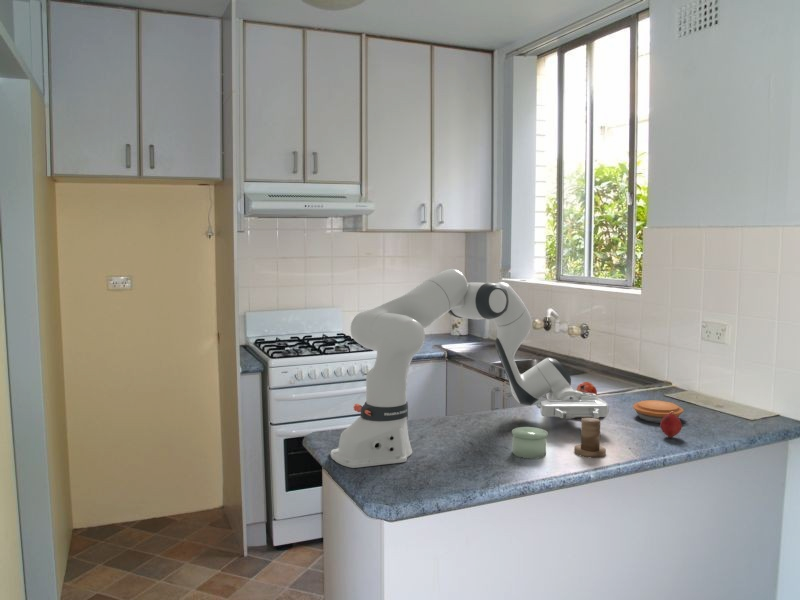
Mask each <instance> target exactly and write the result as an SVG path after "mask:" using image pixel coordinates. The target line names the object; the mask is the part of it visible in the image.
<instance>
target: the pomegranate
mask: <svg viewBox="0 0 800 600" xmlns="http://www.w3.org/2000/svg"><path fill="white" fill-rule="evenodd" d="M576 390H577V391H580V392H585V393H593V394H596V395H597V394H598V392H597V391H598V390H597V388H596V386H595V385H593V383H592V382H589V381H584V382H582V383H579V384H578V385H577V388H576ZM597 396H598V395H597Z"/></svg>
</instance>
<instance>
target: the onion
mask: <svg viewBox="0 0 800 600" xmlns="http://www.w3.org/2000/svg"><path fill="white" fill-rule="evenodd" d="M659 425H660V429H661V431H662V433H663V434H665V436H667V437H668V438H670V439H671V438H674V437H675V436H677V435H678V434H680V432H681V430H682V428H683V426H682V421H681V419H680V417H677V416H675V415H674V411H671V412H670V413H669V414H668V415H666V416H665V417H664V418H663V419H662V420H661V423H659Z"/></svg>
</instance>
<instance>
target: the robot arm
mask: <svg viewBox="0 0 800 600" xmlns="http://www.w3.org/2000/svg"><path fill="white" fill-rule="evenodd" d="M447 313H448V314H449V315H451V316H452V317H455V318H459V319H470V320H492V322H493V324H494V325H495V327H496V332H497V333H496V334H497V335H496V338H495V341H494V346H495V349H496V353H497V355H498V358H499V359H500V362H501V365H502V367H503V371H504V373H505V375H506V378H507V379H508V380H507V381H508V383H509V386H510V391H511V394H512V396H513V397H514V399H515V401H516V402H518V403H519V405H523V406H533V404H535V403H536V402H537V403H536V405H535V406H536V408H538V409H539V410H540V411H539V412H540V415H541V416H542V417H543V418H560V419H571V420H572V419H576V418H575V417H592V418H595V419H599V418H607V417H608V416H609V412H610V406H609V404H608V403H607V401H605V400H604V399H601V398H599V397H598V395H596V394H593V393H585V392H580V391H577V389H574V388H573V387H572V386H571V385H572V378H571V377H572V376H570V374H569V372H568V371H567V369H566V368H565V366H564V365H563V364H562V363H561V362H560V361H558V359H555V358H552V357H546V358H544V359H542V360H541V361H539V362H538V363H536V364H535V365H533V366H532V367H531V368H529V369H527V370H526V371H525V372H523V373H520V371H519V369H518V366H517V363H516V361H515V356H516V353H517V351H518V349H519V348H520V346H521V345H522V344H523V342H525V340H526V339H527V337H528V336H529V335H530V332H531V329H532V326H533V317H532V316H531V313H530V311H529V310H528V308H527V306H526V304H525V303H524V301H523V300H522V298H521V297H520V296H519V294H518V293H517V292H516V291H515V290H514V289H513V287H512V286H511V285H510V284H509V283H506V282H503V281H499V282H495V283H494V282H480V281H479V282H476V281H475V282H474V281H471V282H468V280H467V278H466V275H464V274H463V273H462V272H461V271H459V270H458V269H454V268H449V269H445V270H443V271H440V272H438V273H436V274H434V275H432V276H431V277H429V278H428V279H426V280H424V281H423V282H422V283H419V285H417V286H416V287H414V288H413V289H411V290H410V291H408V292H407V293H405V294H403V295H401V296H400V297H396V298H395V299H392V300H389V301H388V302H384V303H383V304H381V305H379V306H377V307H374V308H372V309H369V310H364V311H361V312H359V313H357V314H356V315H355V316H354V317H353V319H352V321H351V323H350V324H351V325H350V335H351V337H352V339H353V340H354V341H355V342H356V343H357V344H358V345H360V346H362V347H364V348H365V349H368V350H371V351H376V359H375V362H374V364H373V367H372V368H371V369H369V370H368V372H367V373H366V377H365V381H366V382H365V390H366V391H365V392H366V393H365V396H366V397H365V400H366V401H365V402H364V404H363V405H361V404H360V403H354V406H353V411H355V412H357V413H360V415H359V417H358V418H357V419H355V421H353V422H352V423H351V424H350V425H349V426H348V427H347V428H345V429H344V430H343V431H342V432H341V434H340V435H339V441H338V447H337V448H334V449H332V450H330V458H331V459H332V460H333V461H335V462H336V463H337V464H338V465H341V466H343V467H347V468H351V469H355V468H357V469H358V468H364V467H373V466H381V465H390V464H400V463H405V462H407V459H408V458H409V457H410V456H412V454H413V449H412V446H411V442H410V438H409V430H408V429H409V428H408V418H409V404H408V403H409V402H408V401H407V391H408V390H407V386H408V383H407V382H408V374H409V373H408V372H409V368H410V365H411V363H412V361H413V358H414V357H415V355H417V354H418V353H419V352H420V351H421V349H422V348H423V346H424V343H425V339H426V335H425V334H426V333H425V330H424V329H425V328H428V327H430V326H431V325H433V324H434V323H435V322H437V321H438V320H439V319H441V318H442V317H443V316H444V315H446V314H447ZM544 396H546V399H543V400H541V401H540V402H539V403H538V401H539V399H541V398H543V397H544Z"/></svg>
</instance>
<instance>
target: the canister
mask: <svg viewBox="0 0 800 600" xmlns="http://www.w3.org/2000/svg"><path fill="white" fill-rule="evenodd" d="M511 434H512V454H513V455H514V456H516V457H518V458H521V457H523V458H522V459H528V458H530V459H531V460H532V459H534V460H535V458H537V459H541V458H545V457H546V454H547V453H546V452H547V437H548V431H546V430H545V429H542V428H541V427H540V428H539V427H533V426H532V427H531V426H520V427H515V428H513V429H512V430H511Z"/></svg>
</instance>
